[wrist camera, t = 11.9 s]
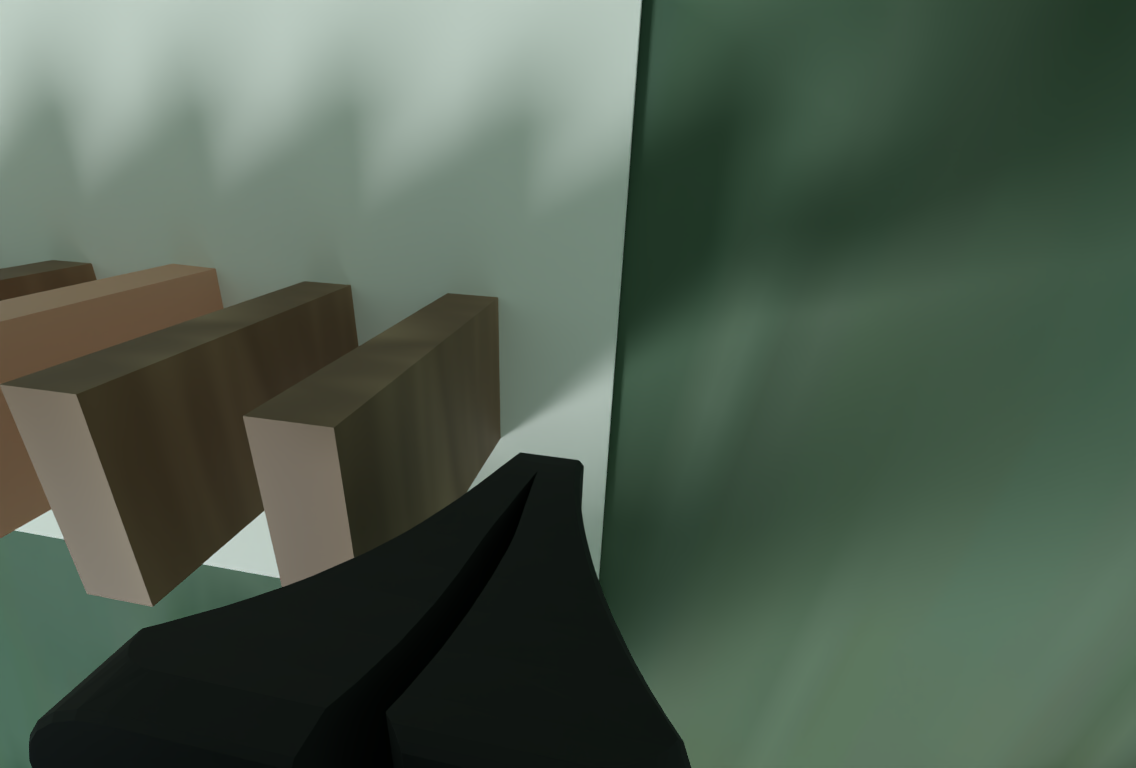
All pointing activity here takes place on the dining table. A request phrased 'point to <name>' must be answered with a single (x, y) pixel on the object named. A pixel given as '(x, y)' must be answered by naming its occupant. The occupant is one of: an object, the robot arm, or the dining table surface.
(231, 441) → the domino
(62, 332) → the domino
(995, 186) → the dining table surface
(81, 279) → the domino
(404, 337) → the domino
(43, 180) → the white flat board
